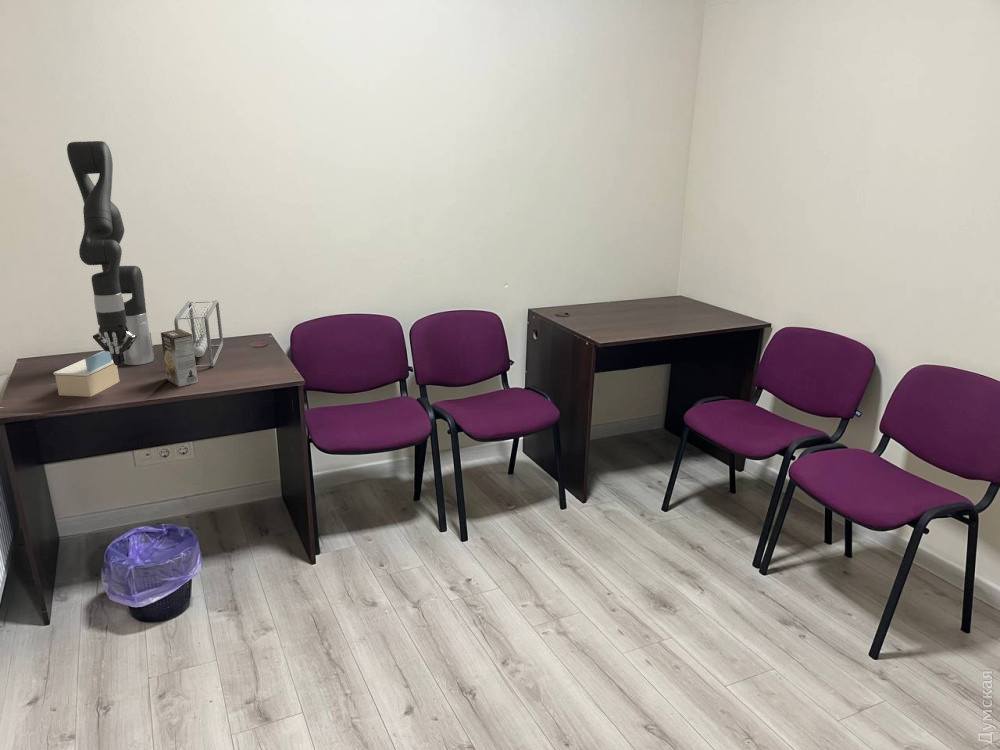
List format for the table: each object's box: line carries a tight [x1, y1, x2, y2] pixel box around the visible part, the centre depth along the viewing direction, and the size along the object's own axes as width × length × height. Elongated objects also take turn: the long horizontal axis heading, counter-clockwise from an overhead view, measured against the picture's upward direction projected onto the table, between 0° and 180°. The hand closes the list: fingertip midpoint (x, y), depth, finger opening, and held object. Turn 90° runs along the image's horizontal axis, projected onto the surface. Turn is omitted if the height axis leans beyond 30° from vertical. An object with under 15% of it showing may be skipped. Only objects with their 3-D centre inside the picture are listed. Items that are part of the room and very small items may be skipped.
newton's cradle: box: [174, 299, 224, 368], centre depth 248 cm, size 30×10×18 cm, turn 14°
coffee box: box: [160, 328, 199, 388], centre depth 222 cm, size 9×6×16 cm
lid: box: [53, 349, 114, 376], centre depth 212 cm, size 14×10×5 cm
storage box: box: [54, 363, 121, 398], centre depth 214 cm, size 14×10×7 cm
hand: (119, 364), depth 212 cm, fingers closed
